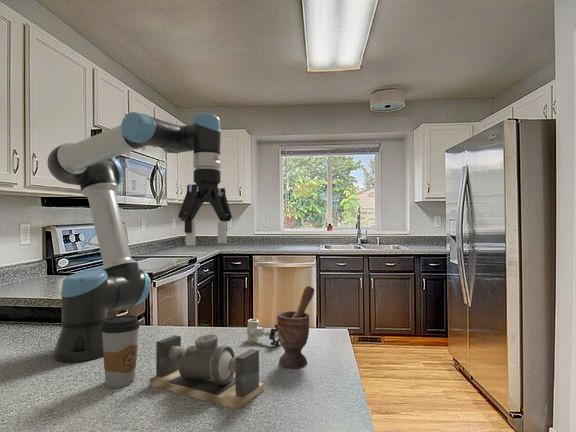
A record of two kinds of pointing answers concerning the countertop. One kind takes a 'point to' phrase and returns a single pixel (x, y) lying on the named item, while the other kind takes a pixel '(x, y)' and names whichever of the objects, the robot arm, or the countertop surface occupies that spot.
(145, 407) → the countertop surface
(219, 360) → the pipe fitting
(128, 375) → the coffee cup
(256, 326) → the valve
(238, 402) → the shaft bed
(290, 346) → the mortar and pestle
